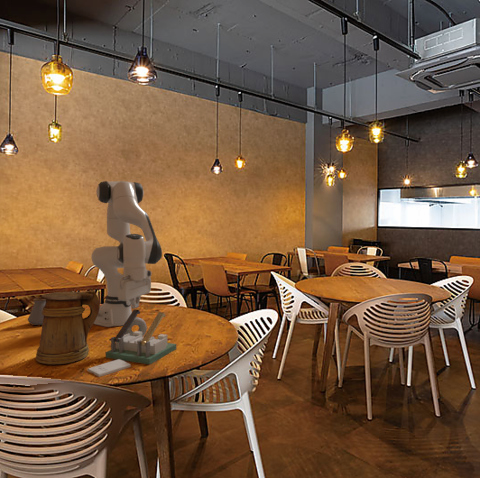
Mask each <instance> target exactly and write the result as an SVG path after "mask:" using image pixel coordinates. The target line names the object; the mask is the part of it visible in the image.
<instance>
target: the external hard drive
mask: <svg viewBox="0 0 480 478" xmlns="http://www.w3.org/2000/svg"><path fill="white" fill-rule="evenodd" d="M131 367H132V365H131V363H129V362H128V361H125V360H120V359H113V360H111V361H108V362H105V363H102V364H98V365H94V366H92V367H88V368H87V369H86V371H87V372H88V373H90V374H93V375H95V376H96V377H98V378H100V377H103V376H107V375H109V374H113V373H116V372H119V371H120V372H121V371H122V370H126V369H129V368H131Z"/></svg>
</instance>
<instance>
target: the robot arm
mask: <svg viewBox="0 0 480 478" xmlns="http://www.w3.org/2000/svg"><path fill="white" fill-rule="evenodd" d="M96 187H97V188H96V189H95V190H96V196H97V200H98V201H99V202H100V203H103V204H107V209H106V233H107V235H108V236H109V237H110V238H112V239H113V240H116V241H118V242H119V245H116V246H115V245H113V246H111V245H109V246H108V245H107V246H106V245H105V246H99V247H95V249H94V250H93V251H92V253H91V256H90V257H91V258H90V259H91V262H92V264H93V266H95V267H96V268H98V270H100V271H101V272H102V274H103V276H104V277H105V280H106V285H107V287H106V288H107V295H106V296H103V298H102V299H103V300H104V303H102V305H100V309H99V313H98V316H97V318H96V320H95V322H94V323H93V325H96V326H101V327H104V328H105V327H106V328H111V327H120V326H122V327H123V325H124V324H125V322H126V321H127V319H128V318H129V316H130V315H131V313H132V312H133V310H136V309H137V308H139V307H140V302H141V301H140V300H141V296H145V295H147V294H150V292H151V289H152V279H151V276H152V274H153V272H152V271H151V270H149V269H147V266H146V264H148V265H155V264H157V263H158V262H159V261H160V260H161V259H162V257H163V251H162V250H163V249H162V246H161V243H160V242H159V240H158V237H157V235H156V233H155V230H154V227H153V225H152V221H151V219H150V217H149V214H148V213H147V212H146V211H145V210H143V209H142V208H141V206H140V205H139V203H141V202H142V201H143V199H144V195H145V192H144V187H143V185H142V184H141V183H139V182H137V181H136V182H135V181H133V182H131V181H127V180H126V181H124V180H120V181H119V180H118V181H117V180H116V181H115V180H114V181H113V180H112V181H107V180H103V181H100V182H99V183H98V185H97V186H96ZM130 224H131V225H134V226H135V227H138V228H139V229H141V230H142V233H143V235H141V234H139V233H131V225H130ZM121 268H122V270H123V274H122V273H120V272H119V271H118V269H121ZM132 309H133V310H132Z"/></svg>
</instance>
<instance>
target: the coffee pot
mask: <svg viewBox="0 0 480 478" xmlns="http://www.w3.org/2000/svg"><path fill="white" fill-rule="evenodd" d="M70 292H73V291H70ZM33 302H34V303H33V307H32V309H31V310H30V311H31V312H30V313H29V315H28V318H27V321H28V323H29V324H30V325H32V324H33V325H42V324H43V317H44V315H42V312H43V311H42V310H43V307H44V306H45V303H46V299H43V298H41V297H36V298H33ZM33 325H32V326H33Z"/></svg>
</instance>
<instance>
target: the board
mask: <svg viewBox="0 0 480 478" xmlns="http://www.w3.org/2000/svg"><path fill="white" fill-rule="evenodd" d="M115 337H116V336H112V337H110V350H108V351H105V358H106V359H107V358H108V359H113V360H118V359H120V360H122V361H125V362H131V363H139V364H144V365H152V364H153V363H155V362H157V361H158V360H160V359H161V358H163V357H165V356H167V355H168V354H170V353H172V352H174V351H176V350H177V344H176V343H173V342H172V343H171V342H168V334H163V333H160V334H159V335H157V338H155V336H151V338H150V340H149V341H148V342H146V346H143V345H140V342H141V341H142V339H143V338H144V336H143V337H142V332H141V331H138V330H135V331H133V336H131V335H130V333H128V334H126V335H125V334H124V336H123V338H120V339H119V342H115V341H114V338H115Z"/></svg>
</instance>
